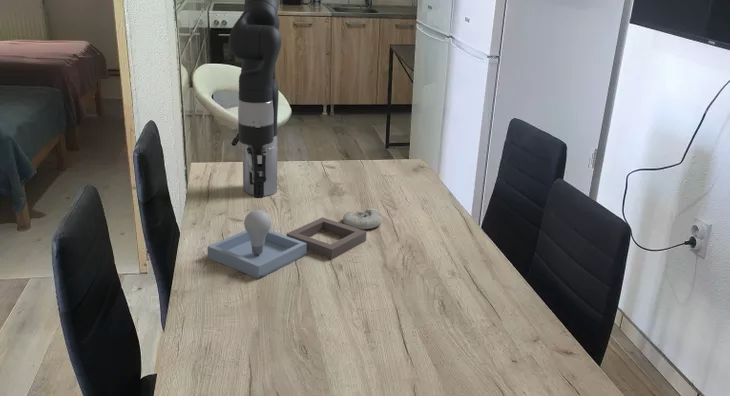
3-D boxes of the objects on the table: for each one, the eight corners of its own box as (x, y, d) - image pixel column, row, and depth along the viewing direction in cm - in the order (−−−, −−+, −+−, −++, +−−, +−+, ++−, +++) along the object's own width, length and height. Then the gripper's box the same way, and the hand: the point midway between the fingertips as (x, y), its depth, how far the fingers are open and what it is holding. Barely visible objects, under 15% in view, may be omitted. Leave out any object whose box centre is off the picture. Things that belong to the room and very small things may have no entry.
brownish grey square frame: (286, 243, 159) (286, 233, 158) (322, 226, 170) (322, 217, 169) (331, 259, 152) (332, 249, 151) (366, 240, 162) (366, 231, 162)
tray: (207, 258, 149) (207, 246, 148) (256, 236, 161) (256, 225, 160) (259, 279, 141) (259, 266, 140) (306, 254, 153) (306, 243, 152)
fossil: (362, 199, 179) (391, 213, 174) (360, 212, 180) (389, 225, 175) (336, 210, 170) (367, 224, 165) (335, 222, 172) (364, 237, 167)
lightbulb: (246, 261, 147) (246, 217, 143) (242, 249, 152) (242, 206, 148) (273, 259, 149) (273, 215, 145) (268, 247, 154) (268, 204, 150)
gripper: (235, 112, 145) (236, 180, 151) (241, 129, 132) (242, 203, 138) (269, 112, 147) (269, 179, 153) (278, 128, 134) (277, 201, 140)
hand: (256, 190), depth 145 cm, fingers open, 8 cm apart
